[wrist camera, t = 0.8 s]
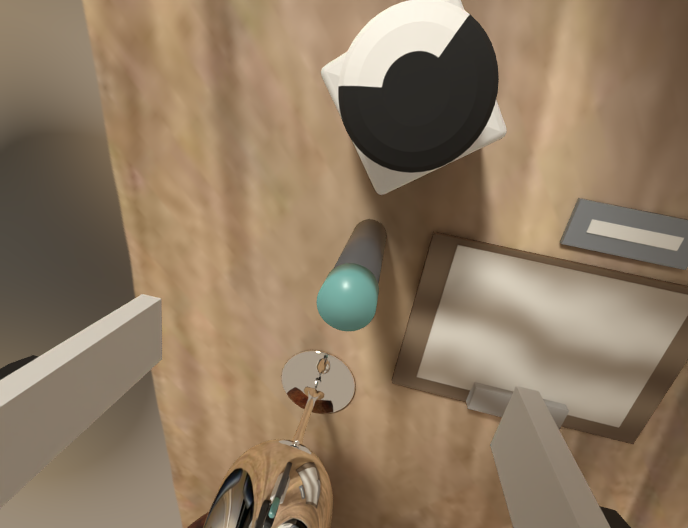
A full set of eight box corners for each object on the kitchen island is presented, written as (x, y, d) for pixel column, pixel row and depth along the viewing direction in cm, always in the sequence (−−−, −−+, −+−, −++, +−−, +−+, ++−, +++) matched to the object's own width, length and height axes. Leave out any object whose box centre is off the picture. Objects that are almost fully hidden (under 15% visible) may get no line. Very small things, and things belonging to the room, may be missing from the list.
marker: (355, 214, 29) (321, 270, 17) (391, 222, 29) (382, 284, 17) (349, 248, 30) (312, 323, 18) (383, 256, 30) (369, 337, 18)
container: (481, 134, 26) (548, 135, 14) (384, 181, 28) (369, 217, 16) (440, 26, 24) (477, -82, 12) (340, 86, 26) (286, 46, 14)
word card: (578, 198, 26) (581, 199, 26) (707, 223, 26) (712, 225, 25) (559, 242, 28) (562, 244, 27) (681, 268, 27) (686, 270, 26)
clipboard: (433, 231, 29) (435, 236, 27) (721, 293, 27) (740, 302, 25) (392, 379, 34) (391, 390, 33) (629, 438, 32) (640, 453, 31)
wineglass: (283, 341, 35) (144, 577, 16) (361, 356, 34) (310, 624, 15) (278, 403, 38) (156, 666, 19) (351, 419, 37) (297, 710, 18)
